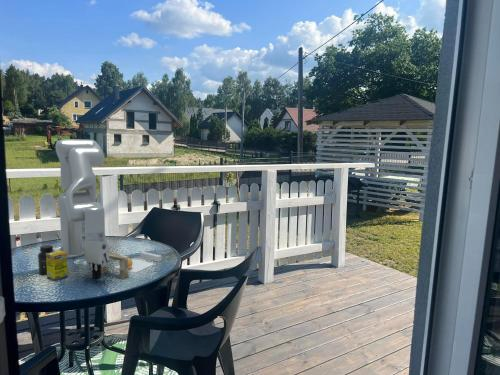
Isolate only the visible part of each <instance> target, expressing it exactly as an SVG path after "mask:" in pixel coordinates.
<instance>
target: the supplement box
mask: <svg viewBox="0 0 500 375" xmlns="http://www.w3.org/2000/svg"><path fill="white" fill-rule="evenodd" d="M46 262H47V275H46V278H47V279H49V280H52V281H54V282H57V281H58V280H62V279H65V278H68V276H69V275H68V274H69V273H68V258H67V253H66V252H63V251H60V250H58V251H55V252H51V253H46Z"/></svg>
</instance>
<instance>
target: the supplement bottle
mask: <svg viewBox="0 0 500 375" xmlns="http://www.w3.org/2000/svg"><path fill="white" fill-rule="evenodd" d="M53 247H54V246H53V245H52V244H45V245H41V246H40V247H39V253H38V254H37V263H38V274H39V275H40V276H47V262H46V253H51V252H54V251H52V250H53Z"/></svg>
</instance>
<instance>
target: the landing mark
mask: <svg viewBox="0 0 500 375" xmlns="http://www.w3.org/2000/svg"><path fill="white" fill-rule="evenodd" d="M131 260H132V263H133V264H132V267H131V268H130V269H128V272H130V273H134V274H136V273H139V272H141V271H143V270H146V269H147V268H149V267H152V266H154V265H155V263H154V262H148V261H144V260H141V259H136V258H134V259H131ZM113 268H114V269H118V270H120V266H119V264H118V265H115V266H114V267H113Z"/></svg>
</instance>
